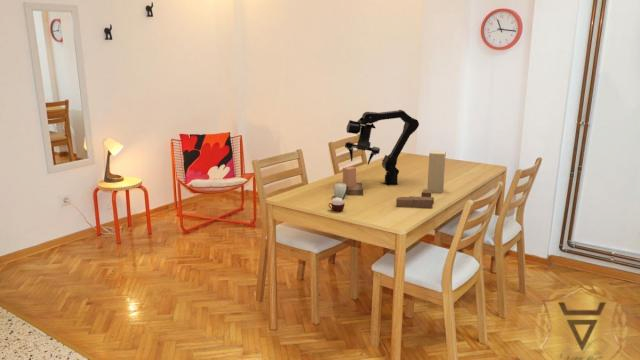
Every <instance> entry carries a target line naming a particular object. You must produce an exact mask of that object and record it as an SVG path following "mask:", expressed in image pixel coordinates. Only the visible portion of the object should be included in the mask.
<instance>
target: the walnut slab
mask: <svg viewBox="0 0 640 360" xmlns="http://www.w3.org/2000/svg"><path fill="white" fill-rule="evenodd" d="M346 189H347V187H346ZM346 196H364V186H363V182H356V186H355V187H350V188H348V189H347V192H346Z"/></svg>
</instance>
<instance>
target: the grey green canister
mask: <svg viewBox="0 0 640 360" xmlns="http://www.w3.org/2000/svg"><path fill="white" fill-rule="evenodd" d="M333 186H334V191H333V192H334V197H333V199H334V198H341V199H343V197H344V194H345V192H346V184H345V183H343V182H336V183H334V185H333ZM345 199H347V195H345V197H344V200H345Z"/></svg>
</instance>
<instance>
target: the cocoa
mask: <svg viewBox="0 0 640 360" xmlns="http://www.w3.org/2000/svg"><path fill="white" fill-rule="evenodd" d="M348 187H349V186H347V189H348ZM347 189H346V192H347ZM346 192H345V194H344V197H345V195H346ZM346 196H347V195H346ZM344 197H343V199H341V198H334V197H333V198H332V199H331V202H330V203H328V207H329V208H330V209H331V210H333V211H334V212H338V213H339V212H342V211H343V210H344V208H345V205H346V204H345V199H344Z"/></svg>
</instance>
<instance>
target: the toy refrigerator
mask: <svg viewBox="0 0 640 360" xmlns="http://www.w3.org/2000/svg"><path fill="white" fill-rule="evenodd" d="M428 154H429V155H428V170H427V171H428V172H427V187H426V190H431V193H436V194H442V193H443V192H444V186H445V184H444V183H445V172H446V171H445V170H446V166H445V165H446V158H447V157H446V151H436V150H430V151H429V153H428Z"/></svg>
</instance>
